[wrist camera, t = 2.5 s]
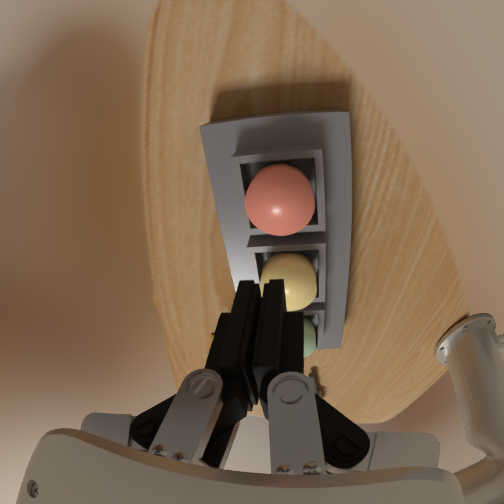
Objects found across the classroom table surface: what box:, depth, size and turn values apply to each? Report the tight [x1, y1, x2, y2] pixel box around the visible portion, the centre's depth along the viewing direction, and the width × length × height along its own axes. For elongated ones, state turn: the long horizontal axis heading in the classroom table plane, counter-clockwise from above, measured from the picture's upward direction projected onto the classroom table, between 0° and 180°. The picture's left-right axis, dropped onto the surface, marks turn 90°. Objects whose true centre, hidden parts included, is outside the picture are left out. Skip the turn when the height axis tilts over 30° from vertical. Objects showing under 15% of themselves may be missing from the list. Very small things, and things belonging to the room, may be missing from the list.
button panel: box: [200, 109, 352, 350], centre depth 27 cm, size 12×28×5 cm, turn 8°
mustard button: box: [260, 251, 317, 311], centre depth 25 cm, size 5×5×2 cm
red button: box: [245, 162, 315, 236], centre depth 20 cm, size 5×5×2 cm
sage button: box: [304, 316, 316, 358], centre depth 29 cm, size 5×5×2 cm
